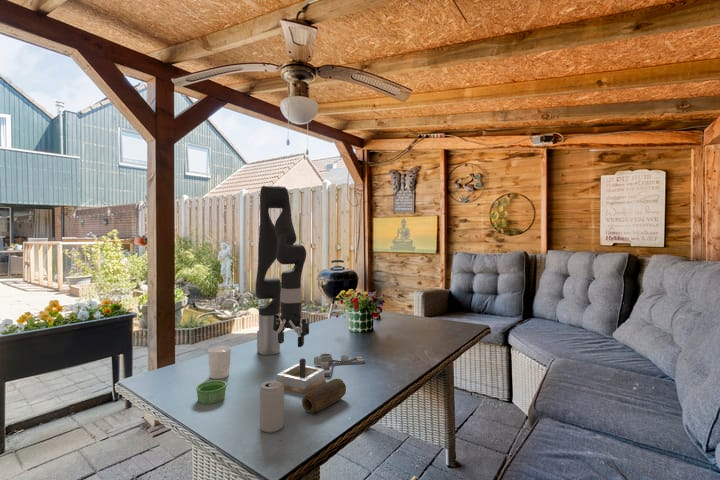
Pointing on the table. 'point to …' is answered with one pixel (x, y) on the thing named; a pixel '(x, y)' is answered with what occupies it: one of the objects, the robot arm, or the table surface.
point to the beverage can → (271, 406)
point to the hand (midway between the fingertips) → (290, 344)
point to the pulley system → (327, 359)
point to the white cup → (219, 361)
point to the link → (302, 383)
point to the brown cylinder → (324, 395)
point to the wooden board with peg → (302, 375)
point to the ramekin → (211, 391)
